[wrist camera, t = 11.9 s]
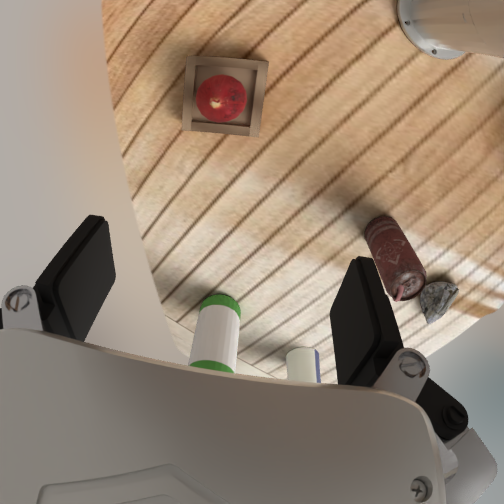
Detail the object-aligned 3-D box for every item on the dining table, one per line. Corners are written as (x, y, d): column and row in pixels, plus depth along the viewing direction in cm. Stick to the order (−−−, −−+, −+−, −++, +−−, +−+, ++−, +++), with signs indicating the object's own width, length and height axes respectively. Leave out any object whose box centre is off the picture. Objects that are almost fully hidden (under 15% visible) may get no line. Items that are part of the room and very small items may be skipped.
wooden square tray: (192, 55, 35) (186, 55, 33) (268, 61, 36) (268, 62, 33) (187, 124, 41) (181, 130, 39) (259, 131, 42) (258, 137, 39)
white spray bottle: (276, 353, 69) (276, 456, 49) (312, 341, 67) (321, 448, 46) (291, 370, 73) (294, 466, 53) (324, 360, 71) (334, 458, 51)
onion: (246, 70, 35) (241, 74, 28) (250, 113, 38) (246, 127, 31) (199, 76, 35) (184, 81, 29) (205, 118, 38) (192, 133, 32)
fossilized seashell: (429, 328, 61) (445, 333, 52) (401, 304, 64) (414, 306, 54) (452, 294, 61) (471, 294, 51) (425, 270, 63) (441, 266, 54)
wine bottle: (208, 321, 64) (185, 461, 40) (195, 294, 60) (162, 444, 35) (245, 317, 63) (234, 463, 38) (235, 289, 58) (217, 447, 34)
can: (358, 243, 52) (380, 302, 40) (371, 211, 48) (400, 265, 37) (388, 249, 52) (415, 306, 41) (402, 219, 48) (436, 272, 37)
